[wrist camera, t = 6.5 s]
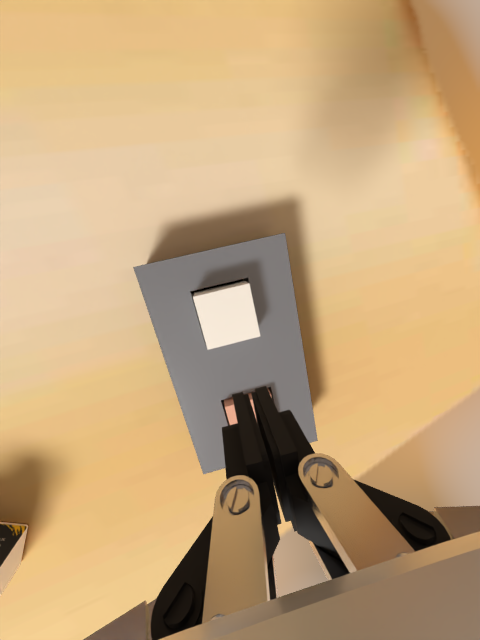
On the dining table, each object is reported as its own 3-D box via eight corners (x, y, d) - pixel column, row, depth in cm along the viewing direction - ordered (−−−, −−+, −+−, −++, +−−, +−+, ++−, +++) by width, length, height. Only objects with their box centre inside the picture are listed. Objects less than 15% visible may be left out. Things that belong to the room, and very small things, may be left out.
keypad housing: (145, 266, 24) (133, 267, 20) (273, 237, 25) (285, 232, 21) (204, 447, 31) (203, 474, 27) (304, 418, 32) (317, 440, 28)
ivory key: (194, 292, 23) (192, 296, 20) (244, 280, 23) (249, 283, 20) (207, 339, 24) (207, 349, 21) (254, 327, 24) (260, 336, 21)
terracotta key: (223, 391, 27) (224, 407, 24) (264, 380, 27) (271, 394, 24) (232, 426, 28) (235, 445, 25) (271, 415, 29) (279, 432, 26)
